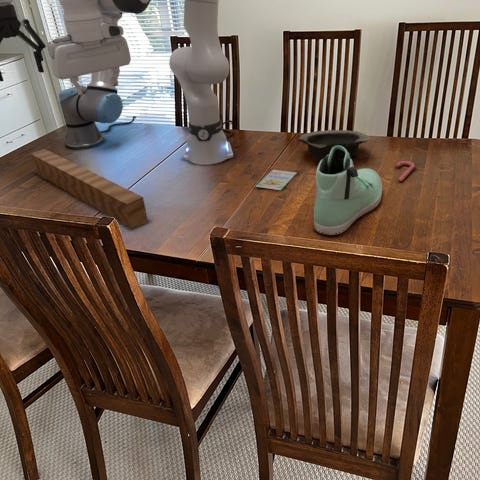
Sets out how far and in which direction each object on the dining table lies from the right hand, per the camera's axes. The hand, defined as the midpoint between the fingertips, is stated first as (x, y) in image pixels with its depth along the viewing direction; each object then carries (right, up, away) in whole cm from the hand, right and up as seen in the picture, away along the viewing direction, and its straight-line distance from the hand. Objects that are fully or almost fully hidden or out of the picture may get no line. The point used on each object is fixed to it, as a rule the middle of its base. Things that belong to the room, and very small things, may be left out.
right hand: (98, 89), depth 123 cm
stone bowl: (+70, -8, +50) cm, 87 cm away
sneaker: (+68, -30, +16) cm, 76 cm away
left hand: (-35, +15, +34) cm, 51 cm away
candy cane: (+90, -17, +33) cm, 97 cm away
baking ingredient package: (+49, -19, +36) cm, 63 cm away
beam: (-15, -24, +36) cm, 46 cm away
